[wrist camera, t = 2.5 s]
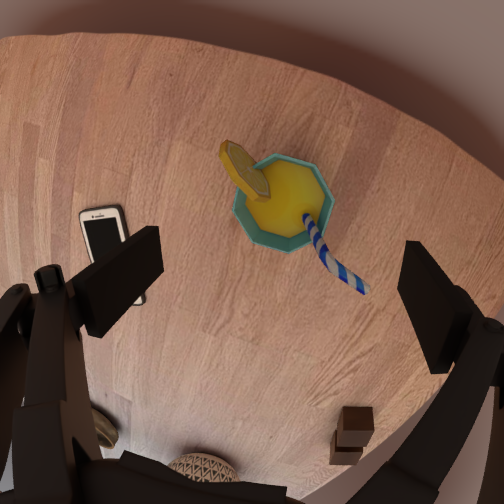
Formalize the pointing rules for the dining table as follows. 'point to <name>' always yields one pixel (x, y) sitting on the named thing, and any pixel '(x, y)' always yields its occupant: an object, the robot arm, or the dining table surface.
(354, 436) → the walnut block near
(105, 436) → the bowl
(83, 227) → the cell phone
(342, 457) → the walnut block far
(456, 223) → the dining table surface
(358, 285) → the cup
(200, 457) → the planter
